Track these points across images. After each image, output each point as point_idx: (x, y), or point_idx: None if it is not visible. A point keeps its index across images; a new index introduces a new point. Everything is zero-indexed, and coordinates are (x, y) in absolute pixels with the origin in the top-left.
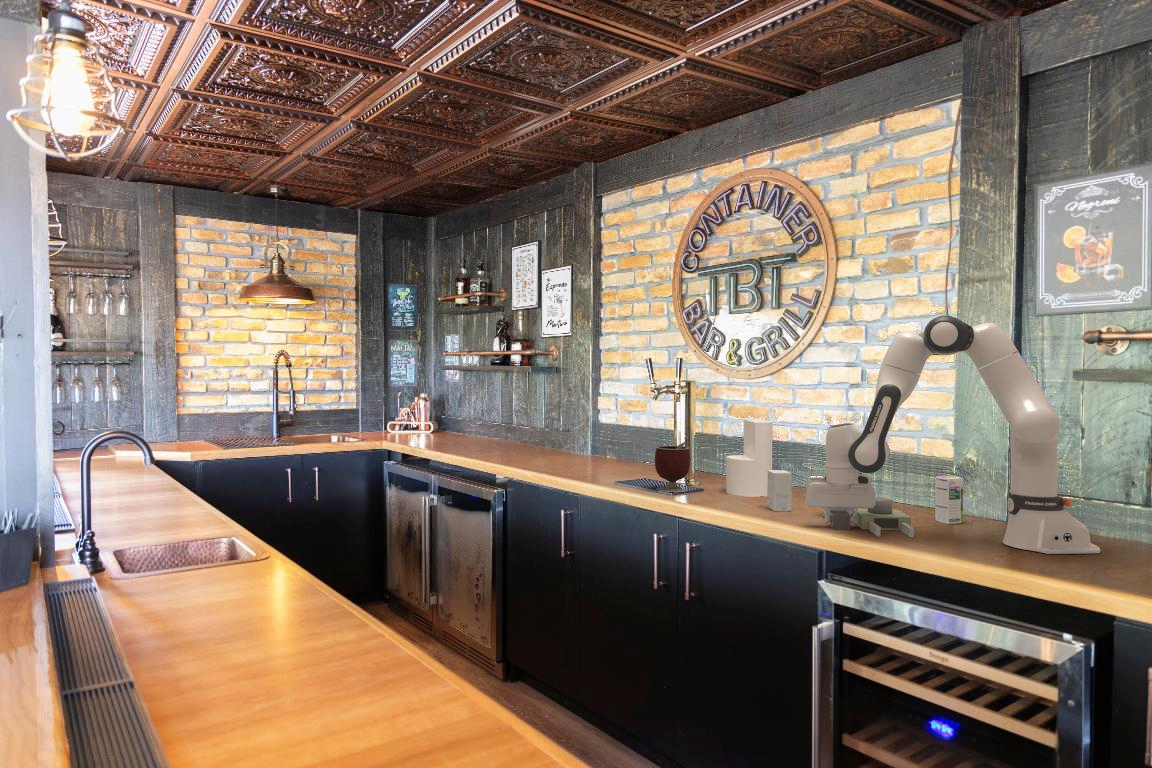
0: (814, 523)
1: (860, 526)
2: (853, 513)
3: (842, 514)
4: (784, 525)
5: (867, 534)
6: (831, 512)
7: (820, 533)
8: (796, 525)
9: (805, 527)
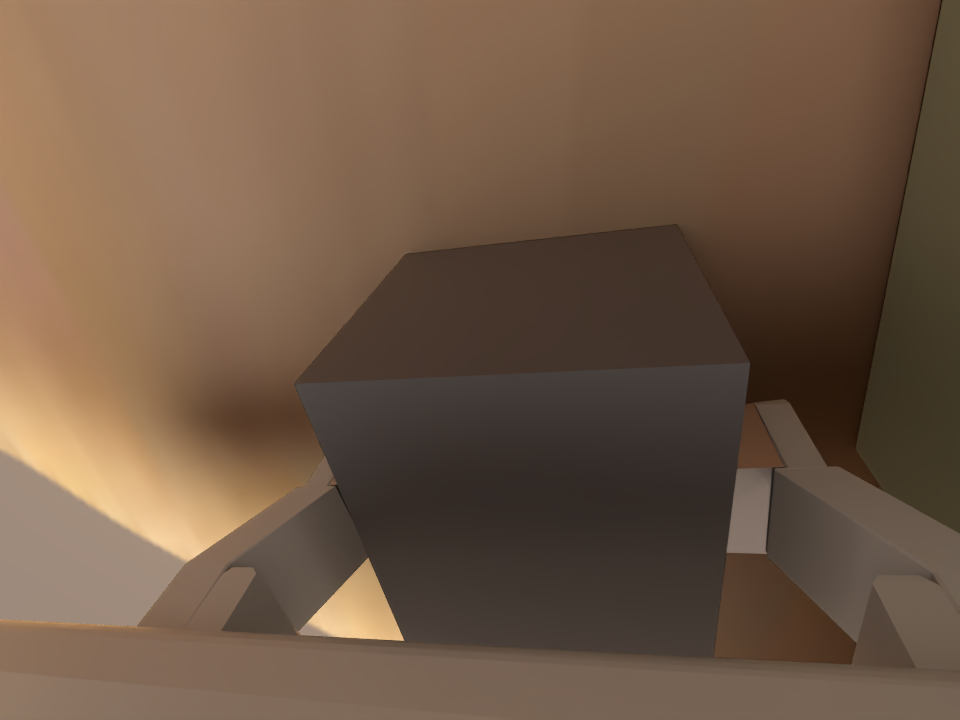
0: (198, 225)
1: (880, 400)
2: (839, 598)
3: None
4: (11, 425)
5: (811, 641)
6: (381, 584)
7: (382, 632)
8: (92, 401)
9: (204, 468)
